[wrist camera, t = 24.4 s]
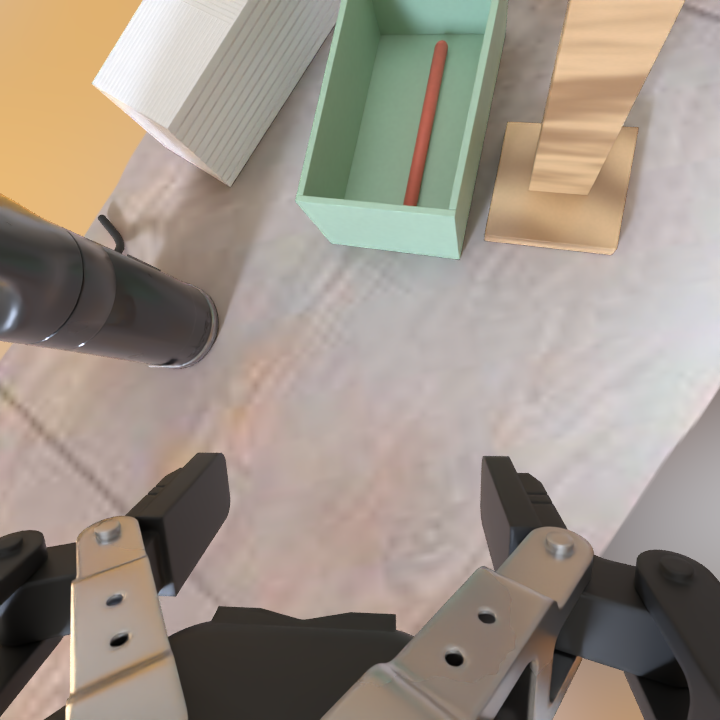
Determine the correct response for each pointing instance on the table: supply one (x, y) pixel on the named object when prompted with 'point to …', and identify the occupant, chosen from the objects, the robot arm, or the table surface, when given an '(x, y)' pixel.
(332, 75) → the bin
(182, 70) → the stack of papers
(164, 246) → the table surface
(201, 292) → the robot arm
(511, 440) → the table surface
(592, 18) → the stand
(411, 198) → the straw
